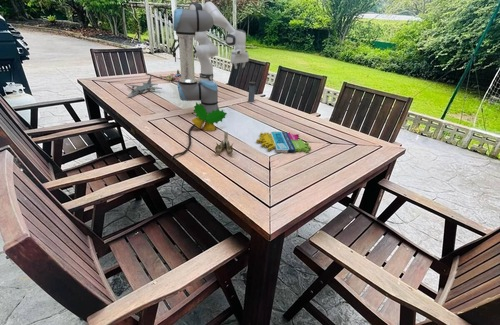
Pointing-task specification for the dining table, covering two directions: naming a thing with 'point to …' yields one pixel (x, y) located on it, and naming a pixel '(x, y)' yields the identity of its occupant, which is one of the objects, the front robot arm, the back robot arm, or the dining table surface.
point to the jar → (251, 93)
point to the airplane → (142, 88)
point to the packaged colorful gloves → (283, 142)
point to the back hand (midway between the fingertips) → (239, 68)
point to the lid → (252, 83)
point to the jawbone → (224, 145)
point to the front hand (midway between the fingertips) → (184, 61)
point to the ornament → (207, 117)
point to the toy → (172, 76)
